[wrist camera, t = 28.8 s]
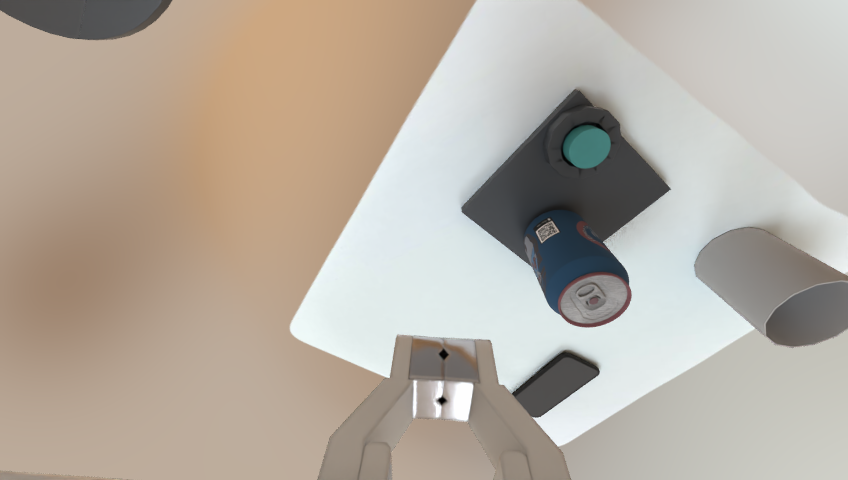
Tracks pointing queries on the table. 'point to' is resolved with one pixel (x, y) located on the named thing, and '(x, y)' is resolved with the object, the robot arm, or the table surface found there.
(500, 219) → the scale
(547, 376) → the smartphone
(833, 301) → the cup
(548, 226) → the soda can
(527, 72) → the table surface
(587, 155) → the tare button
